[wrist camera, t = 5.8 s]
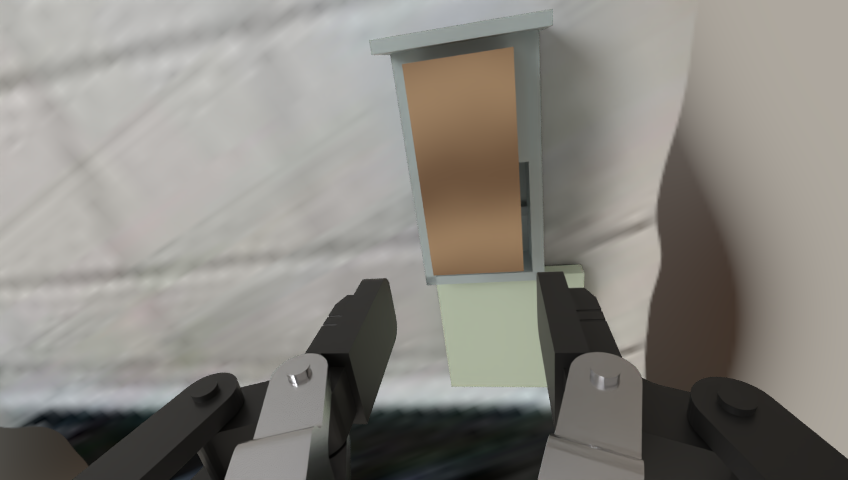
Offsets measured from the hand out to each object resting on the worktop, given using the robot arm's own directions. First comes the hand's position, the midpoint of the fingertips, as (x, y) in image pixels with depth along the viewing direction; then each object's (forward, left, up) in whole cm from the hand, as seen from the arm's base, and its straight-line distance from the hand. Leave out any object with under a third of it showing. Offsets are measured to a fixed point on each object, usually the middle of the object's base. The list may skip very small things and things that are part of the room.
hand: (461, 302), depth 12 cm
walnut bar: (-2, -1, -11) cm, 11 cm away
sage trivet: (+9, +8, -15) cm, 20 cm away
